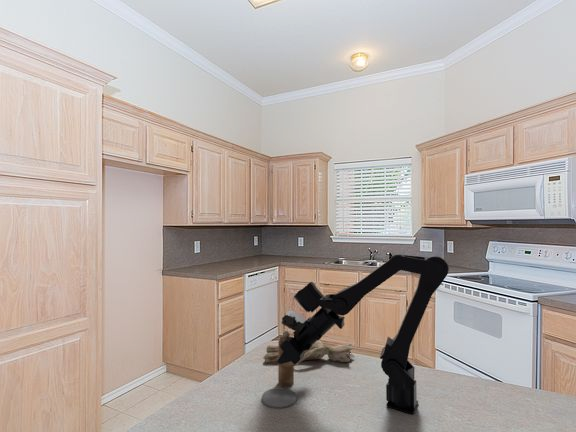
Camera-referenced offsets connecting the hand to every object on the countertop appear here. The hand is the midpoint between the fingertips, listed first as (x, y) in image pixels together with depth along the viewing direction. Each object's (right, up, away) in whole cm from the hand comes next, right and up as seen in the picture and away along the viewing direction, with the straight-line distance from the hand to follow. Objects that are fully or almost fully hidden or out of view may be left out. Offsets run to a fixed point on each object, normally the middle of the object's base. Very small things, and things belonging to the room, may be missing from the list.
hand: (281, 359), depth 95 cm
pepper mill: (+1, -7, -1) cm, 7 cm away
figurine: (+9, -8, +17) cm, 21 cm away
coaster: (0, -6, -9) cm, 11 cm away
